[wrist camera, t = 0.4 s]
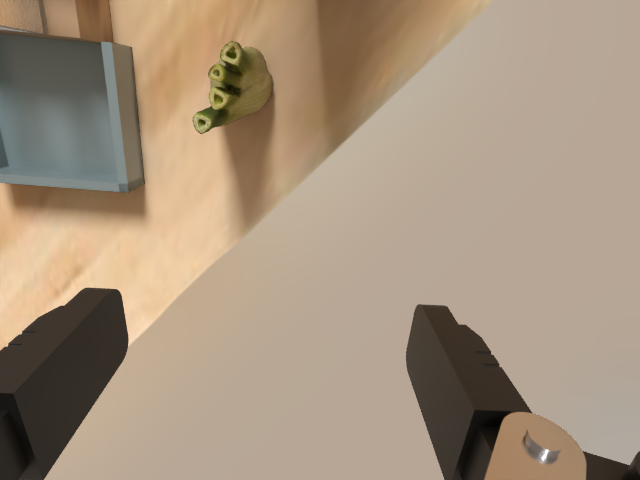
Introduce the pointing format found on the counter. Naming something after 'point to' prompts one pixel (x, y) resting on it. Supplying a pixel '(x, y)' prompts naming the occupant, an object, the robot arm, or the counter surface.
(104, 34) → the stand
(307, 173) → the counter surface
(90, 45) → the tray
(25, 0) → the chute
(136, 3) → the counter surface
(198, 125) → the fennel bulb
